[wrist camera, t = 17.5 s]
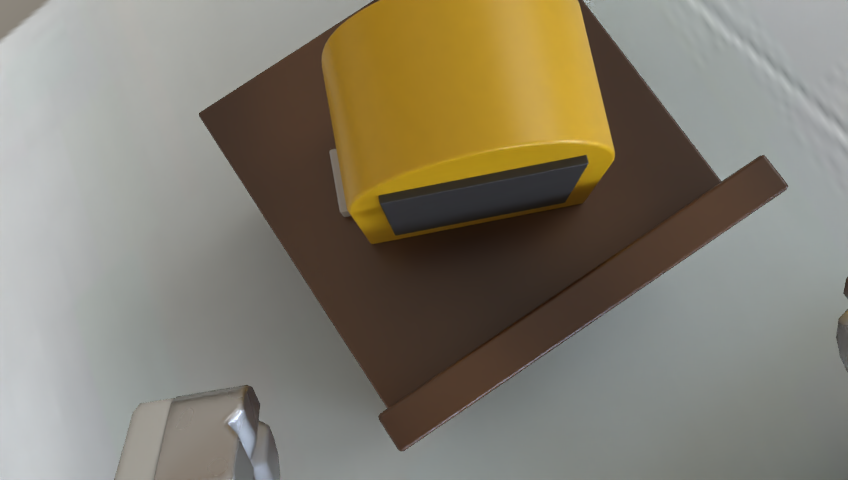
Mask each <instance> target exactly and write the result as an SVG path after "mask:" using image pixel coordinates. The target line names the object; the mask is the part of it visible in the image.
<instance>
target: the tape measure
mask: <svg viewBox="0 0 848 480" xmlns="http://www.w3.org/2000/svg"><path fill="white" fill-rule="evenodd" d="M321 63H322V70H323V76H324V82H325V87H326V93H327V99H328V104H329V110H330V116H331V121H332V127H333V133H334V138H335V144H336V149H332V150H330V152H329V153H330V159H331V164H332V170H333V176H334V181H335V187H336V193H337V199H338V204H339V210H340V212H341V214H342V215H343V216H344V217H348V216H352V218H353V219H354V220H355V222H356V223H357V225H358V226H359V228H360V229H361V230H362V232H363V233H364V235H365V236H366V238H367V239H368V240H369V242H370V243H371V244H376V243H381V242H386V241H392V240H397V239H402V238H407V237H412V236H417V235H422V234H428V233H433V232H438V231H443V230H448V229H453V228H458V227H464V226H469V225H474V224H479V223H484V222H489V221H494V220H500V219H505V218H510V217H515V216H520V215H525V214H530V213H535V212H541V211H546V210H551V209H556V208H561V207H566V206H571V205H577V204H582V203H584V202H585V200H586V199H587V198H588V196H589V195H590V193H591V192H592V191H593V189H594V188H595V186H596V185H597V183H598V182H599V181H600V179H601V178H602V176H603V175H604V174H605V172H606V171H607V169H608V168H609V167H610V165H611V164H612V162H613V161H614V158H615V150H614V146H613V142H612V138H611V134H610V129H609V125H608V121H607V117H606V113H605V108H604V104H603V100H602V96H601V92H600V88H599V83H598V79H597V75H596V71H595V67H594V62H593V58H592V54H591V50H590V46H589V41H588V37H587V33H586V29H585V25H584V21H583V16H582V12H581V8H580V4H579V2H578V0H380V1H377V2H375V3H373V4H371V5H370V6H368V7H366V8H364V9H362V10H361V11H359V12H358V13H356V14H355V15H353V16H352V17H350V18H349V19H347V20H346V21H345V22H344V23H343V24H342V25H340V26H339V27H338V28H337V29H336V30H335V31H334V33H333V34H332V35H331V36H330V37H329V39H328V41H327V42H326V44H325V46H324V49H323V52H322V61H321Z"/></svg>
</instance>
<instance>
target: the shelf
mask: <svg viewBox="0 0 848 480" xmlns="http://www.w3.org/2000/svg"><path fill="white" fill-rule="evenodd" d="M377 1H380V0H374V1H372V2H371V3H369V4H367V5H366V6H364V7H363V8H361V9H360V10H358V11H357V12H355V13H353V14H352V15H350V16H349V17H347V18H346V19H344V20H343V21H341V22H340V23H338V24H336V25H335V26H333V27H332V28H330V29H329V30H327V31H326V32H324V33H322V34H321V35H319V36H318V37H316V38H315V39H313V40H312V41H310V42H309V43H307V44H305V45H304V46H302V47H301V48H299V49H298V50H296V51H295V52H293V53H291V54H290V55H288V56H287V57H285V58H284V59H282V60H281V61H279V62H278V63H276V64H274V65H273V66H271V67H270V68H268V69H267V70H265V71H264V72H262V73H260V74H259V75H257V76H256V77H254V78H253V79H251V80H250V81H248V82H247V83H245V84H243V85H242V86H240V87H239V88H237V89H236V90H234V91H233V92H231V93H229V94H228V95H226V96H225V97H223V98H222V99H220V100H219V101H217V102H216V103H214V104H212V105H211V106H209V107H208V108H206V109H205V110H203V111H202V112H200V113H199V117H200V118H201V120H202V121H203V123H204V124H205V126H206V127H207V129H208V131H209V132H210V134H211V135H212V137H213V138H214V140H215V141H216V143H217V145H218V146H219V148H220V149H221V151H222V152H223V154H224V155H225V157H226V159H227V160H228V162H229V163H230V165H231V166H232V168H233V169H234V171H235V173H236V174H237V176H238V177H239V179H240V180H241V182H242V183H243V185H244V186H245V188H246V190H247V191H248V193H249V194H250V196H251V197H252V199H253V200H254V202H255V204H256V205H257V207H258V208H259V210H260V211H261V213H262V214H263V216H264V218H265V219H266V221H267V222H268V224H269V225H270V227H271V228H272V230H273V232H274V233H275V235H276V236H277V238H278V239H279V241H280V242H281V244H282V246H283V247H284V249H285V250H286V252H287V253H288V255H289V256H290V258H291V260H292V261H293V263H294V264H295V266H296V267H297V269H298V270H299V272H300V274H301V275H302V277H303V278H304V280H305V281H306V283H307V284H308V286H309V288H310V289H311V291H312V292H313V294H314V295H315V297H316V298H317V300H318V301H319V303H320V305H321V306H322V308H323V309H324V311H325V312H326V314H327V315H328V317H329V319H330V320H331V322H332V323H333V325H334V326H335V328H336V329H337V331H338V333H339V334H340V336H341V337H342V339H343V340H344V342H345V343H346V345H347V347H348V348H349V350H350V351H351V353H352V354H353V356H354V357H355V359H356V361H357V362H358V364H359V365H360V367H361V368H362V370H363V371H364V373H365V375H366V376H367V378H368V379H369V381H370V382H371V384H372V385H373V387H374V389H375V390H376V392H377V393H378V395H379V396H380V398H381V399H382V401H383V403H384V404H385V406H386V407H387V409H386V410H385V411H383V412H382V413H380V415H379V416H378V417H379V420H380V422H381V424H382V425H383V427H384V428H385V430H386V431H387V433H388V434H389V436H390V438H391V439H392V441H393V442H394V444H395V445H396V447H397V449H398V450H399V451H405V450H406V449H408V448H409V447H410V446H412V445H413V444H415V443H416V442H418V441H419V440H421V439H422V438H424V437H425V436H427V435H428V434H430V433H431V432H432V431H434V430H435V429H437V428H438V427H440V426H441V425H443V424H444V423H446V422H447V421H449V420H450V419H451V418H453V417H454V416H456V415H457V414H459V413H460V412H462V411H463V410H465V409H466V408H468V407H469V406H471V405H472V404H473V403H475V402H476V401H478V400H479V399H481V398H482V397H484V396H485V395H487V394H488V393H490V392H491V391H492V390H494V389H495V388H497V387H498V386H500V385H501V384H503V383H504V382H506V381H507V380H509V379H510V378H512V377H513V376H514V375H516V374H517V373H519V372H520V371H522V370H523V369H525V368H526V367H528V366H529V365H531V364H532V363H533V362H535V361H536V360H538V359H539V358H541V357H542V356H544V355H545V354H547V353H548V352H550V351H551V350H553V349H554V348H555V347H557V346H558V345H560V344H561V343H563V342H564V341H566V340H567V339H569V338H570V337H572V336H573V335H574V334H576V333H577V332H579V331H580V330H582V329H583V328H585V327H586V326H588V325H589V324H591V323H592V322H594V321H595V320H596V319H598V318H599V317H601V316H602V315H604V314H605V313H607V312H608V311H610V310H611V309H613V308H614V307H615V306H617V305H618V304H620V303H621V302H623V301H624V300H626V299H627V298H629V297H630V296H632V295H633V294H635V293H636V292H637V291H639V290H640V289H642V288H643V287H645V286H646V285H648V284H649V283H651V282H652V281H654V280H655V279H656V278H658V277H659V276H661V275H662V274H664V273H665V272H667V271H668V270H670V269H671V268H673V267H674V266H675V265H677V264H678V263H680V262H681V261H683V260H684V259H686V258H687V257H689V256H690V255H692V254H693V253H695V252H696V251H697V250H699V249H700V248H702V247H703V246H705V245H706V244H708V243H709V242H711V241H712V240H714V239H715V238H716V237H718V236H719V235H721V234H722V233H724V232H725V231H727V230H728V229H730V228H731V227H733V226H734V225H736V224H737V223H738V222H740V221H741V220H743V219H744V218H746V217H747V216H749V215H750V214H752V213H753V212H755V211H756V210H757V209H759V208H760V207H762V206H763V205H765V204H766V203H768V202H769V201H771V200H772V199H774V198H775V197H777V196H778V195H779V194H781V193H782V192H784V191H785V190H786V189H787V188H788V185H787V183H786V182H785V181H784V179H783V178H782V177H781V175H780V174H779V173H778V172H777V170H776V169H775V168H774V167H773V165H772V164H771V163H770V161H769V160H768V159H767V158H766V157H765V156H764V155H762V156H759V157H757V158H756V159H754V160H753V161H751V162H750V163H749V164H747V165H746V166H744V167H743V168H741V169H740V170H738V171H737V172H735V173H734V174H732V175H731V176H729V177H728V178H726V179H725V180H723V181H722V182H721V180H720V179H719V178H718V176H717V175H716V174H715V172H714V171H713V170H712V168H711V167H710V166H709V165H708V163H707V162H706V161H705V159H704V158H703V157H702V155H701V154H700V153H699V152H698V150H697V149H696V148H695V146H694V145H693V144H692V142H691V141H690V140H689V138H688V137H687V136H686V135H685V133H684V132H683V131H682V129H681V128H680V127H679V125H678V124H677V123H676V122H675V120H674V119H673V118H672V116H671V115H670V114H669V112H668V111H667V110H666V108H665V107H664V106H663V105H662V103H661V102H660V101H659V99H658V98H657V97H656V95H655V94H654V93H653V91H652V90H651V89H650V88H649V86H648V85H647V84H646V82H645V81H644V80H643V78H642V77H641V76H640V75H639V73H638V72H637V71H636V69H635V68H634V67H633V65H632V64H631V63H630V61H629V60H628V59H627V58H626V56H625V55H624V54H623V52H622V51H621V50H620V48H619V47H618V46H617V45H616V43H615V42H614V41H613V39H612V38H611V37H610V35H609V34H608V33H607V31H606V30H605V29H604V28H603V26H602V25H601V24H600V22H599V21H598V20H597V18H596V17H595V16H594V14H593V13H592V12H591V11H590V9H589V8H588V7H587V5H586V4H585V3H584V1H583V0H578V2H579V4H580V8H581V12H582V16H583V21H584V25H585V29H586V33H587V37H588V41H589V46H590V50H591V54H592V58H593V62H594V67H595V71H596V75H597V79H598V83H599V88H600V92H601V96H602V100H603V104H604V108H605V113H606V117H607V121H608V125H609V129H610V134H611V138H612V142H613V146H614V150H615V158H614V161H613V162H612V164H611V165H610V167H609V168H608V169H607V171H606V172H605V174H604V175H603V176H602V178H601V179H600V181H599V182H598V183H597V185H596V186H595V188H594V189H593V191H592V192H591V193H590V195H589V196H588V198H587V199H586V200H585V202H584V203H582V204H577V205H571V206H566V207H561V208H556V209H551V210H546V211H541V212H535V213H530V214H525V215H520V216H515V217H510V218H505V219H500V220H494V221H489V222H484V223H479V224H474V225H469V226H464V227H458V228H453V229H448V230H443V231H438V232H433V233H428V234H422V235H417V236H412V237H407V238H402V239H397V240H392V241H386V242H381V243H376V244H371V243H370V242H369V240H368V239H367V238H366V236H365V235H364V233H363V232H362V230H361V229H360V228H359V226H358V225H357V223H356V222H355V220H354V219H353V218H352V216H348V217H344V216H343V215H342V214H341V212H340V210H339V204H338V199H337V193H336V187H335V181H334V176H333V170H332V164H331V159H330V153H329V152H330V150H332V149H336V144H335V138H334V133H333V127H332V121H331V116H330V110H329V104H328V99H327V93H326V87H325V82H324V76H323V70H322V63H321V61H322V52H323V49H324V46H325V44H326V42H327V41H328V39H329V37H330V36H331V35H332V34H333V33H334V31H335V30H336V29H337V28H338V27H339V26H340V25H342V24H343V23H344V22H345V21H346V20H347V19H349V18H350V17H352V16H353V15H355V14H356V13H358V12H359V11H361V10H362V9H364V8H366V7H368V6H370V5H371V4H373V3H375V2H377Z"/></svg>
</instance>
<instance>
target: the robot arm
mask: <svg viewBox="0 0 848 480" xmlns="http://www.w3.org/2000/svg"><path fill="white" fill-rule="evenodd" d="M843 294H844V295H845V296H846V297H847V299H848V277H847V279H846V283H845V288H844V293H843ZM836 338H837V343H838V348H839V353H840V357H841V360H842V362H843V364H844V366H845V368H846V370H847V372H848V309H847V310H846V311H845V313H844V314H843V315H842V316H841V317H840V318H839V321H838V329H837V336H836ZM259 409H260V403H259V401H258V398H257V396H256V394H255V392H254V390H253V388H252V387H251V386H248V385H244V386H238V387H232V388H226V389H220V390H214V391H208V392H202V393H196V394H190V395H184V396H178V397H176V398H171V399H165V400H159V401H152V402H146V403H140V404H139V405H138V407H137V408H136V409H135V410H134V412H133V414H132V417H131V421H130V425H129V428H128V432H127V435H126V439H125V443H124V446H123V450H122V453H121V457H120V461H119V464H118V468H117V471H116V475H115V478H114V480H280V470H279V459H278V452H277V448H276V444H275V440H274V437H273V434H272V432H271V429H270V427H269V426H268V425H266V424H265V423H263V422H261V421H259Z"/></svg>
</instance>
